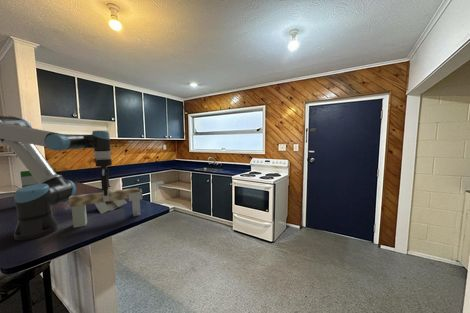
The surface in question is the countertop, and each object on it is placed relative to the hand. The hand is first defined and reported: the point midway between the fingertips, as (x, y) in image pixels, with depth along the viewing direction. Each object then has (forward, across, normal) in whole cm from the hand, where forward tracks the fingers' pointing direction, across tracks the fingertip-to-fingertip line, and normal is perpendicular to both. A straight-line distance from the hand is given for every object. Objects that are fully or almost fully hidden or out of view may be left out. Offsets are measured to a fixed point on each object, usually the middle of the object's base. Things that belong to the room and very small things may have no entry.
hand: (106, 199), depth 109 cm
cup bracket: (+12, 0, -14) cm, 18 cm away
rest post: (+11, 0, +13) cm, 17 cm away
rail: (+1, 0, 0) cm, 1 cm away
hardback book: (+11, +62, +46) cm, 78 cm away
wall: (+12, +22, +1) cm, 25 cm away
